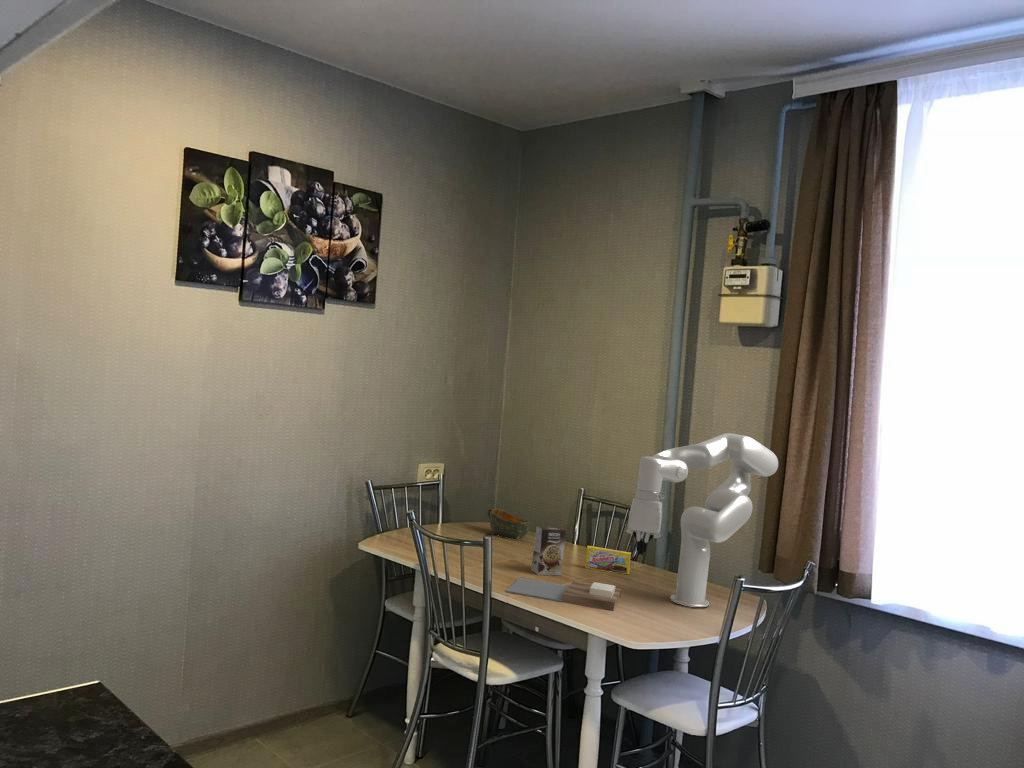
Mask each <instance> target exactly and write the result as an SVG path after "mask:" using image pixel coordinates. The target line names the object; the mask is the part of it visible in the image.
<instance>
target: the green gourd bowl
mask: <svg viewBox="0 0 1024 768" xmlns="http://www.w3.org/2000/svg"><path fill="white" fill-rule="evenodd" d="M487 517H488V519H489V523H490V524H489V526H490V529H491V532H492V534H493V533H494V534H496V535H499V536H502V537H501V538H503V537H507V538H513V539H522V540H523V539H524V538H525V537H526V536H527V534H528V533H529V530H530V525H531V524H530V523H531V521H529V520H527V519H526V520H525V519H522V518H519V517H517V516H515V515H513V514H512V513H510V512H508V511H506V510H503V509H500V508H490V507H489V508H488V509H487ZM494 534H493V535H494ZM496 535H495V536H496ZM499 536H498V537H499ZM507 538H506V539H507ZM513 539H512V540H513Z"/></svg>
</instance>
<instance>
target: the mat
mask: <svg viewBox="0 0 1024 768" xmlns="http://www.w3.org/2000/svg"><path fill="white" fill-rule="evenodd" d="M569 586H570V585H567V584H566V585H565V584H559V583H556V582H555V583H554V582H549V581H542V580H537V579H531V578H524V577H519V578H518V579H517V580H516V581H515V582H513V584H512V585H510V587H508V588H507V590H505V592H506V593H508V594H513V595H521V596H526V597H531V598H537V599H543V600H548V601H554V602H559V603H563V602H562V599H563V593H564V592H565V591H566V589H567V588H568V587H569Z"/></svg>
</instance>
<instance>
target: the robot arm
mask: <svg viewBox="0 0 1024 768" xmlns="http://www.w3.org/2000/svg"><path fill="white" fill-rule="evenodd" d="M729 460H730V461H731V463H730V473H729V476H728V478H727V479H726V480H725V481H724V482H723V483H721V484H720V485H719V486H718V487H716V489H715V490H713V491H712V492H711V493H710V494H709V495H708V496H707V498H706V499H705V503H704V507H701V506H690V507H688V508H685V510H684V511H683V512H682V513H681V517H680V532H681V536H680V537H681V538H680V539H681V542H680V543H681V544H680V552H679V553H680V554H679V559H678V570H677V579H676V588H675V593H674V594H672V595H670V597H669V599H671V600H670V601H671V602H672V601H673V602H675V603H678V604H681V605H685V606H691V607H706V606H708V605H709V606H710V602H709V600H707V599H706V594H707V593H706V592H707V585H708V584H707V583H708V575H709V567H710V566H709V565H710V558H711V546H710V542H711V543H716V544H717V543H719V544H720V543H723V542H725V541H727V540H729V538H730V537H731V536H733V535H734V534H735V533H736V532H737V531H738V530H740V528H741V527H743V526H744V525H745V524H746V523H747V522H748V521H749V520H750V518H751V516H752V512H753V502H752V500H751V499H750V497H749V494H750V493H751V489H752V485H751V475H756V476H761V477H771V476H772V475H774V474H776V472H777V470H778V468H779V460H778V457H777V456H776V454H775V453H774V452H773V451H772V450H770V449H769V448H767V447H766V446H764V444H762V443H760V442H759V441H757V440H755V439H754V438H752V437H750V436H747V435H742V434H737V433H732V432H728V433H726V432H725V433H722V434H720V435H718V436H715V437H711V438H710V439H707V440H704V441H701V442H700V443H697V444H688V445H685V446H683V445H682V446H679V447H674V448H668V449H665V450H663V451H660V452H657V453H656V454H653V455H652V456H646V455H645V456H642V457H641V458H640V460H639V467H638V475H637V476H638V478H637V484H636V491H635V497H633V499H632V502H631V506H630V509H629V510H630V511H629V515H628V521H627V528H626V533H627V534H629V535H632V536H633V537H634V538H635V539H636V551H637V555H639V556H640V555H641V556H644V553H647V548H648V542H649V541H651V540H653V539H659V538H661V537H662V535H661V530H662V523H663V502H662V501H661V500H665V498H666V494H663V493H662V487H663V486H662V485H663V481H664V482H665V481H666V482H668V483H669V482H670V483H677V484H678V483H680V482H684V481H685V480H686V479H687V477H688V474H689V470H704V469H710V468H712V467H714V466H716V465H718V464H720V463H721V464H722V463H724V462H726V461H729ZM642 533H645V535H644V538H642ZM673 602H672V603H673ZM675 603H674V604H675ZM678 604H677V605H678ZM681 605H680V606H681ZM685 606H684V607H685ZM691 607H690V608H691Z"/></svg>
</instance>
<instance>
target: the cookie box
mask: <svg viewBox="0 0 1024 768" xmlns="http://www.w3.org/2000/svg"><path fill="white" fill-rule="evenodd" d="M535 529H536V530H535V537H534V544H533V545H534V547H533V555H532V561H531V562H532V563H531V568H530V569H531V571H532V572H533V573H534V574H536V575H538V576H561V575H562V571H563V570H562V569H563V560H564V552H565V543H566V535H567V530H566V529H564V528H562V527H559V526H546V525H545V526H544V525H536V528H535Z"/></svg>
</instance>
